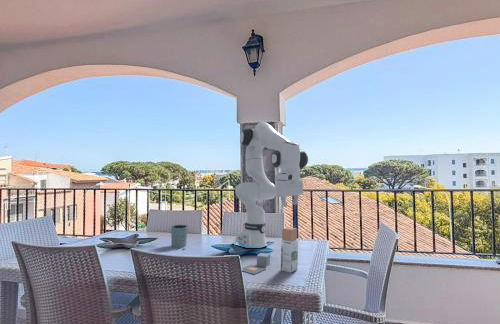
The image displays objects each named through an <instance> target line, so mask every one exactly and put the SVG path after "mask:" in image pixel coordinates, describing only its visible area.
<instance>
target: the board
mask: <svg viewBox="0 0 500 324" xmlns="http://www.w3.org/2000/svg"><path fill="white" fill-rule="evenodd" d="M241 269H243V271H242V272H243V273H247V274H250V275H257V274H260V273H262V272H264V271H266V270H267V269H266V267H262V266H257V265H254V264H249V265H247V266H245V267H241Z"/></svg>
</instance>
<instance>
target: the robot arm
mask: <svg viewBox="0 0 500 324" xmlns="http://www.w3.org/2000/svg"><path fill="white" fill-rule="evenodd" d="M239 141H240V144H241V145H242V146H245V147H246V149H245V172H246V174H247V175H248V176H249V177H251V178H253V180H254V182H253V181H252V182H251V181H247V182H246V181H245V182H240V183H238V184H237V185H236V187H235V195H236V197H237V199H238V200H240V201H241V202H242V204H243V205H244V207H245V210H246V212H245V213H246V222H245V223H243V224H242V225H243V226H244V228H242V230H241V231H239V232H238V233H237V234H236V236H235V240H234V241H232V242H231V245H232V244H234V243H236V242H240V243H242V244H245V245H247V246H250V247H252V246H266V245H267V246H268V244H267V239H266V225H267V224H266V212H265V211H266V210H265V209H264V208H263V207H262V206H261V205H258V204H257V201H267V200H273V199H274V198H275V197H278V198H279V197H280V200H281V202H282V203H281V205H282V207H287V206H288V202H287V200H286V199H287V197H293V200H292V205H293V206H294V205H298V201H299V197H300V195H303V194H304V184H303V180H302V177H301V170H303V169H305V168H306V167H307V165H308V163H309V156H308V154H307V152H306V151H305V150H303V149H301V148H300V144H299V143H298V142H297V141H296V142H294V141H291V140H290V139H289V138H287V137H286V136H285V135H282V134H281V133H280V132H278V131H277V130H275V128H274V127H273V126H272V125H271V124H269V123H268V122H266V121H260V122H258V123H257V124H256V125H255V127H254V128H251V127H250V128H245V129H242V131H240V134H239ZM264 149H265V150H268V149H270V150H274V151H273V152H272V153H271V159H270V161H271V164H272V166H273V167H274V168H276V169H280V172H278V173H277V174H276V175H275V176H274V179H275V184H274V183H273V182H271V181H270V180H269V178H268V177H267V175H266V173H265V166H264V159H263V158H264V157H263V150H264Z"/></svg>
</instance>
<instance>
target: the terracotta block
mask: <svg viewBox="0 0 500 324" xmlns="http://www.w3.org/2000/svg"><path fill="white" fill-rule="evenodd" d="M281 231H282V232H281V233H282V235H281V240H289V241H293V240H296V239H297V240H298V228H296V227H289V226H287V227H283V228H282V229H281Z"/></svg>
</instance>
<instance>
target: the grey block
mask: <svg viewBox="0 0 500 324" xmlns="http://www.w3.org/2000/svg"><path fill="white" fill-rule="evenodd" d="M270 264H271V254H270V253H264V252H260V253H257V255H256V266H258V267H262V268H267V267H268V266H270Z"/></svg>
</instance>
